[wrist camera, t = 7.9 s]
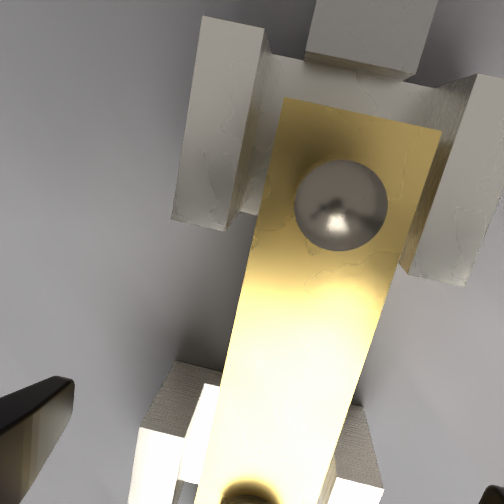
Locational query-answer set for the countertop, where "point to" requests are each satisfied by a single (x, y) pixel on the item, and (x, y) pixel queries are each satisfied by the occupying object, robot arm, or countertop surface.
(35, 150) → the countertop surface
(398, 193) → the link
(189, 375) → the chain ends
